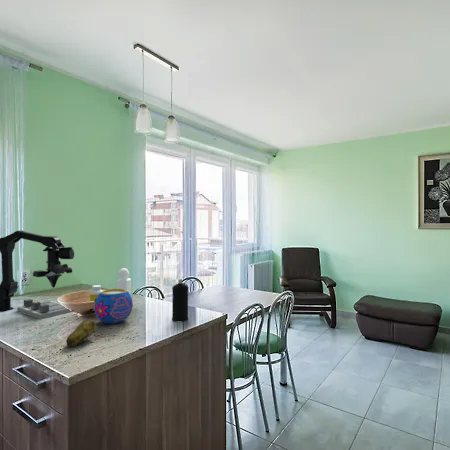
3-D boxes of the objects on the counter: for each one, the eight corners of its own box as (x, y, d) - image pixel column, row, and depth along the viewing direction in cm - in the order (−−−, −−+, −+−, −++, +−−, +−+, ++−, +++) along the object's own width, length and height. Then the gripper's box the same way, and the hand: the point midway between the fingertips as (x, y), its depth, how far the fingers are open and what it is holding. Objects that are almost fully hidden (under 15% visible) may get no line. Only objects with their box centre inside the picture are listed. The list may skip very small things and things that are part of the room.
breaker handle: (31, 308, 165) (31, 302, 165) (37, 307, 167) (37, 301, 167) (34, 309, 163) (34, 303, 162) (40, 308, 165) (40, 302, 165)
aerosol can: (191, 317, 157) (191, 278, 157) (182, 322, 150) (182, 281, 150) (177, 315, 161) (177, 277, 161) (168, 320, 153) (168, 279, 153)
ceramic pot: (122, 314, 163) (122, 285, 163) (139, 322, 150) (139, 291, 150) (88, 321, 151) (88, 290, 151) (103, 331, 138) (103, 297, 138)
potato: (59, 344, 123) (59, 324, 123) (91, 335, 133) (91, 316, 133) (69, 350, 118) (69, 329, 118) (101, 340, 128) (101, 320, 128)
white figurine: (131, 305, 181) (131, 267, 181) (126, 308, 174) (126, 269, 174) (120, 304, 182) (120, 267, 181) (115, 307, 175) (115, 268, 175)
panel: (17, 310, 169) (17, 300, 169) (51, 303, 183) (51, 294, 183) (39, 319, 154) (39, 308, 154) (74, 310, 169) (74, 300, 169)
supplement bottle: (98, 311, 169) (98, 287, 169) (87, 310, 170) (87, 286, 170) (105, 307, 175) (105, 285, 175) (94, 307, 177) (94, 284, 177)
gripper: (42, 262, 160) (42, 292, 160) (77, 258, 175) (77, 286, 175) (32, 260, 166) (32, 289, 166) (67, 257, 181) (67, 284, 181)
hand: (53, 287), depth 172 cm, fingers closed
